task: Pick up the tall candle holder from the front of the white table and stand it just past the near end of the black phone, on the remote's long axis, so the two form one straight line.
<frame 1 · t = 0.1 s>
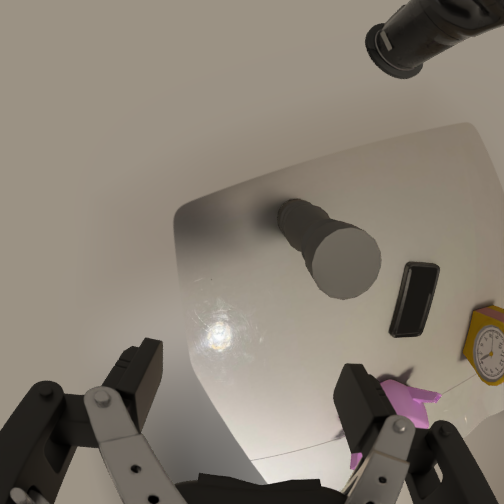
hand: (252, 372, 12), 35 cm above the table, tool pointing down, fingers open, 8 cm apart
phone: (413, 299, 49), on the table
teapot: (378, 401, 56), on the table
candle holder: (296, 218, 46), on the table
alarm clock: (477, 329, 52), on the table
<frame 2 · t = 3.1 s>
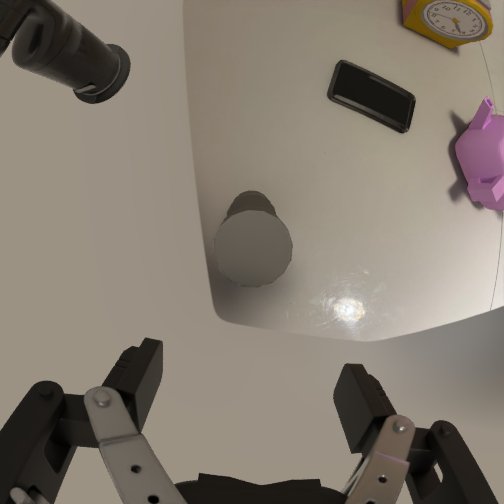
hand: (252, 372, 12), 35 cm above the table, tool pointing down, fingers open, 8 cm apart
phone: (372, 96, 40), on the table
teapot: (477, 161, 43), on the table
candle holder: (251, 210, 45), on the table
alarm clock: (426, 25, 36), on the table
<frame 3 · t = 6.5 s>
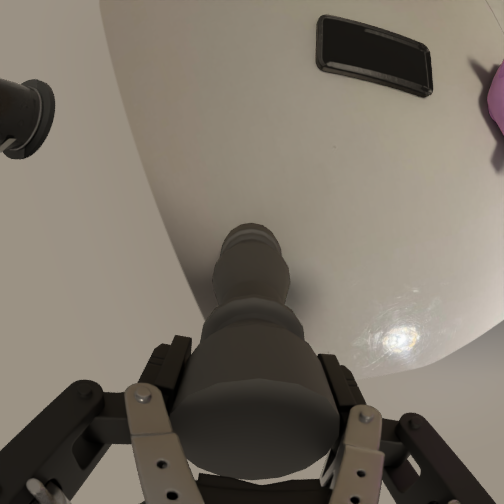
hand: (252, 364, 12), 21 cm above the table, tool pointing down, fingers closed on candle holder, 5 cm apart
phone: (376, 55, 26), on the table
candle holder: (250, 250, 32), on the table, touching gripper
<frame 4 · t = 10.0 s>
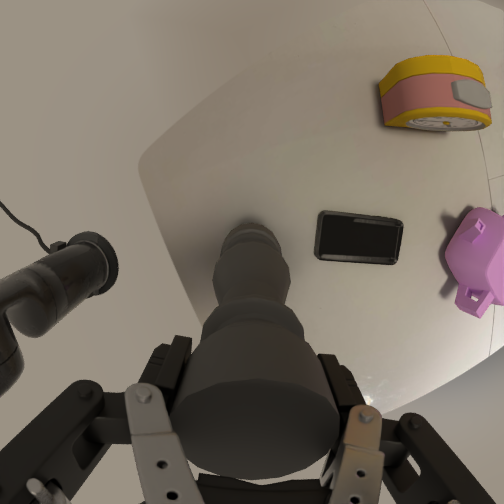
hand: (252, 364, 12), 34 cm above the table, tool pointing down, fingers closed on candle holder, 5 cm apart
phone: (359, 237, 46), on the table
teapot: (468, 249, 47), on the table
candle holder: (251, 250, 32), point 13 cm above the table, touching gripper
alarm clock: (409, 109, 40), on the table
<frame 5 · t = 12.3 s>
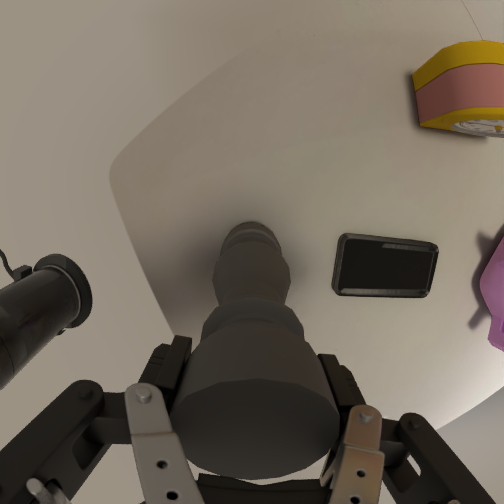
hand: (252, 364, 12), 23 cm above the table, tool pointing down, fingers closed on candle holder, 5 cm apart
phone: (386, 265, 36), on the table
teapot: (501, 273, 37), on the table
candle holder: (251, 250, 32), point 3 cm above the table, touching gripper
alarm clock: (446, 108, 30), on the table
when the fingers open (21 cm above the table, at t = 13.7 s): candle holder stays where it is, on the table.
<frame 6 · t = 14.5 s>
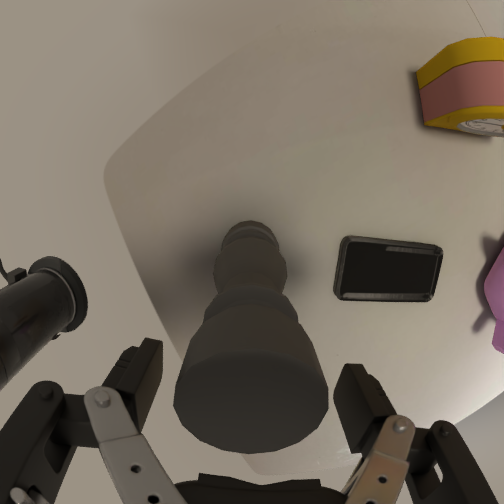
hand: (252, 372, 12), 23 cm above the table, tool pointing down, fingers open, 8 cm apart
phone: (390, 269, 34), on the table
candle holder: (250, 247, 34), on the table
alarm clock: (451, 106, 29), on the table
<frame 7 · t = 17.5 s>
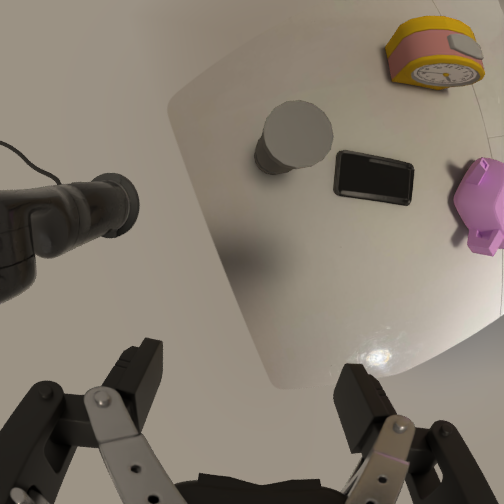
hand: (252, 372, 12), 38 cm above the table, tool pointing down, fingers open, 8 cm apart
phone: (374, 178, 47), on the table
teapot: (474, 200, 48), on the table
candle holder: (273, 156, 46), on the table
alarm clock: (413, 70, 41), on the table
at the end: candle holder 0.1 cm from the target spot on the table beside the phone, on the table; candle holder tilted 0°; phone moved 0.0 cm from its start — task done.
